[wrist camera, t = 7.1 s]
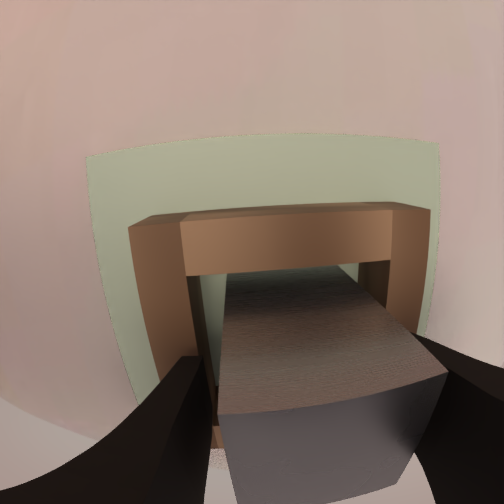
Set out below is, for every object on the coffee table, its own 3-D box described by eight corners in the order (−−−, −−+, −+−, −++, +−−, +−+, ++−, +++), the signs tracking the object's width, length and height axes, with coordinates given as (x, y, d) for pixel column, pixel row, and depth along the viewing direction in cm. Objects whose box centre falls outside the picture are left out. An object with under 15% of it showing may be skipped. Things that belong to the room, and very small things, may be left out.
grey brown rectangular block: (235, 361, 12) (240, 514, 5) (227, 270, 11) (217, 414, 4) (330, 352, 12) (395, 483, 5) (334, 262, 11) (448, 371, 4)
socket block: (155, 426, 14) (144, 472, 10) (97, 157, 10) (49, 154, 7) (396, 399, 14) (421, 437, 11) (425, 144, 11) (478, 139, 7)
